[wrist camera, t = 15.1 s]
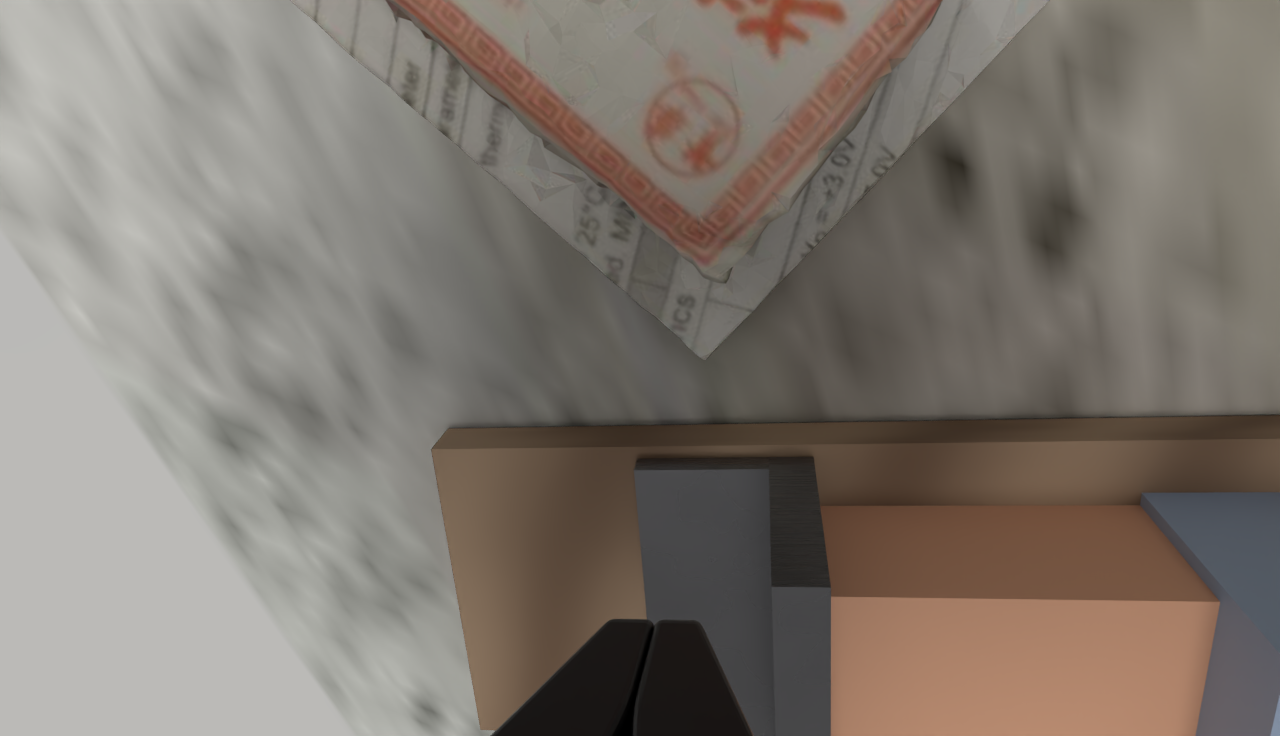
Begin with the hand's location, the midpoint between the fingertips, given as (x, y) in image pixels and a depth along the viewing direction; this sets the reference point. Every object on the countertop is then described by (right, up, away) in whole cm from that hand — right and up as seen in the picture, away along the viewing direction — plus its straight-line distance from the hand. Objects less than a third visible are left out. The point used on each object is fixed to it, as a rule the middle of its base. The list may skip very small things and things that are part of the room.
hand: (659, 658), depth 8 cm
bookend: (+2, -3, +13) cm, 13 cm away
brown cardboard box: (+8, -3, +12) cm, 15 cm away
